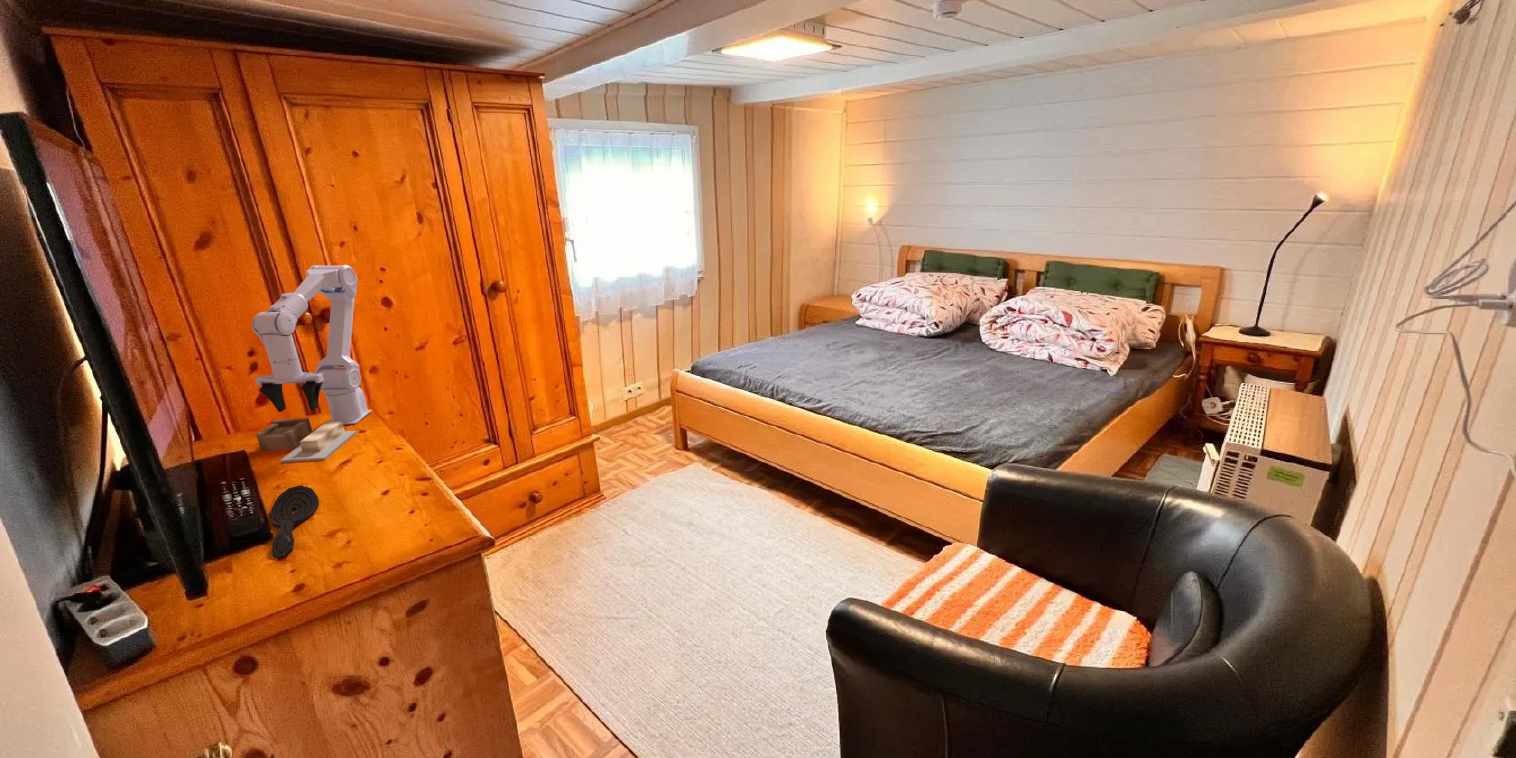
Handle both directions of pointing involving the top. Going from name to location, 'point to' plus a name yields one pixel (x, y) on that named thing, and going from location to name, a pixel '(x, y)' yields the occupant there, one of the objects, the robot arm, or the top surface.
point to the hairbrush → (291, 516)
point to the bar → (322, 437)
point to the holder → (284, 434)
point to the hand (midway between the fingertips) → (298, 409)
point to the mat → (323, 454)
